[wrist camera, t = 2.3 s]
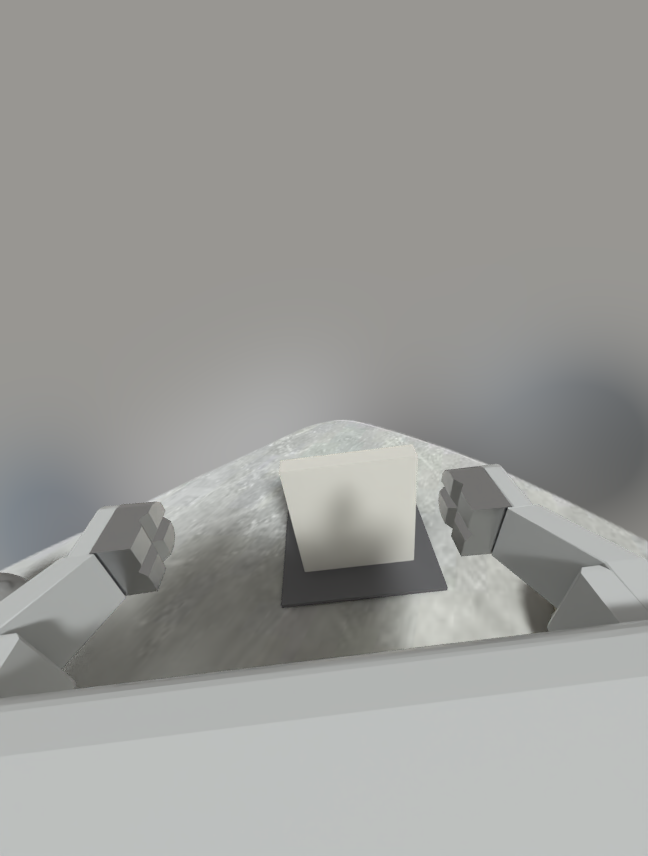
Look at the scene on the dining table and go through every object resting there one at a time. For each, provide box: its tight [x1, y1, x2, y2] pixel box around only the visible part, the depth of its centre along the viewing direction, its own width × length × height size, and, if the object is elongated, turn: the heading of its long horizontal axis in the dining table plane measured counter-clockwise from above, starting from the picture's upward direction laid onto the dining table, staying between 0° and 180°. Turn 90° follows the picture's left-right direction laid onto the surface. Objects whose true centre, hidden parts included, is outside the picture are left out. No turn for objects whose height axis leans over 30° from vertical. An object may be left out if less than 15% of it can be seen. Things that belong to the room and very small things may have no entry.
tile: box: [279, 444, 418, 572], centre depth 27 cm, size 2×10×12 cm, turn 92°
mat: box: [281, 505, 447, 608], centre depth 35 cm, size 18×14×1 cm
